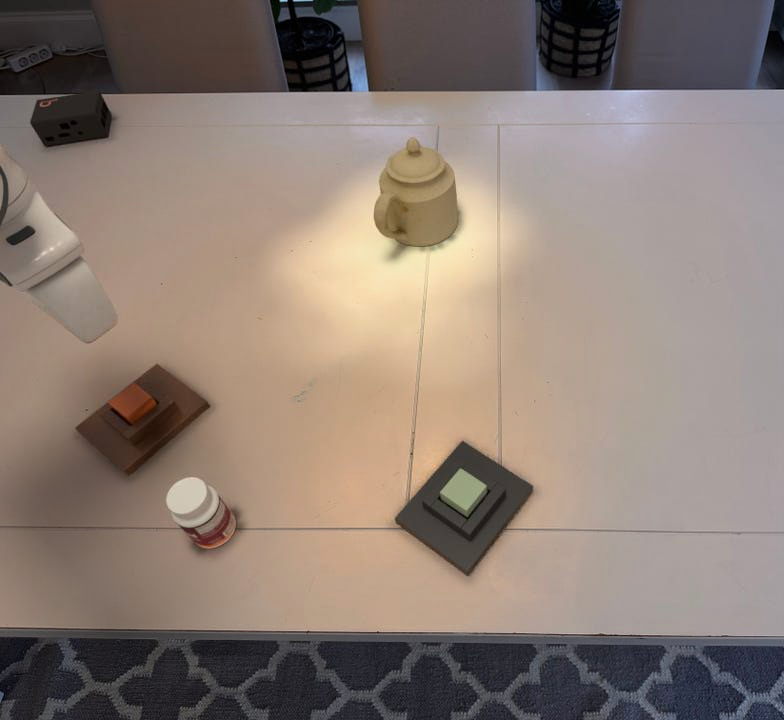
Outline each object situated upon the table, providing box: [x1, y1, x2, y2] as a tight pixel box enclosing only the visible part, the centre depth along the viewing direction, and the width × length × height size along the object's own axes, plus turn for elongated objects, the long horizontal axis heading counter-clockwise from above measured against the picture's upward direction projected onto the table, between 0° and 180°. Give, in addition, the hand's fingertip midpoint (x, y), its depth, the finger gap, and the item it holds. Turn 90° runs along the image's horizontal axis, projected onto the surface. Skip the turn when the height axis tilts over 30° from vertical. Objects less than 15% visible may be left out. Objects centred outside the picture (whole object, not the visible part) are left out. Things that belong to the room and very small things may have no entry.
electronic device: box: [29, 90, 112, 147], centre depth 119 cm, size 7×11×5 cm
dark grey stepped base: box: [394, 440, 534, 577], centre depth 73 cm, size 12×10×3 cm
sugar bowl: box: [373, 136, 459, 247], centre depth 96 cm, size 15×11×15 cm
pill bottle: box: [165, 476, 237, 549], centre depth 70 cm, size 5×5×8 cm
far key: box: [107, 382, 157, 425], centre depth 80 cm, size 4×4×2 cm
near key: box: [440, 468, 487, 517], centre depth 72 cm, size 4×4×2 cm
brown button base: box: [74, 363, 211, 477], centre depth 82 cm, size 12×10×3 cm
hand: (72, 323), depth 70 cm, fingers closed
